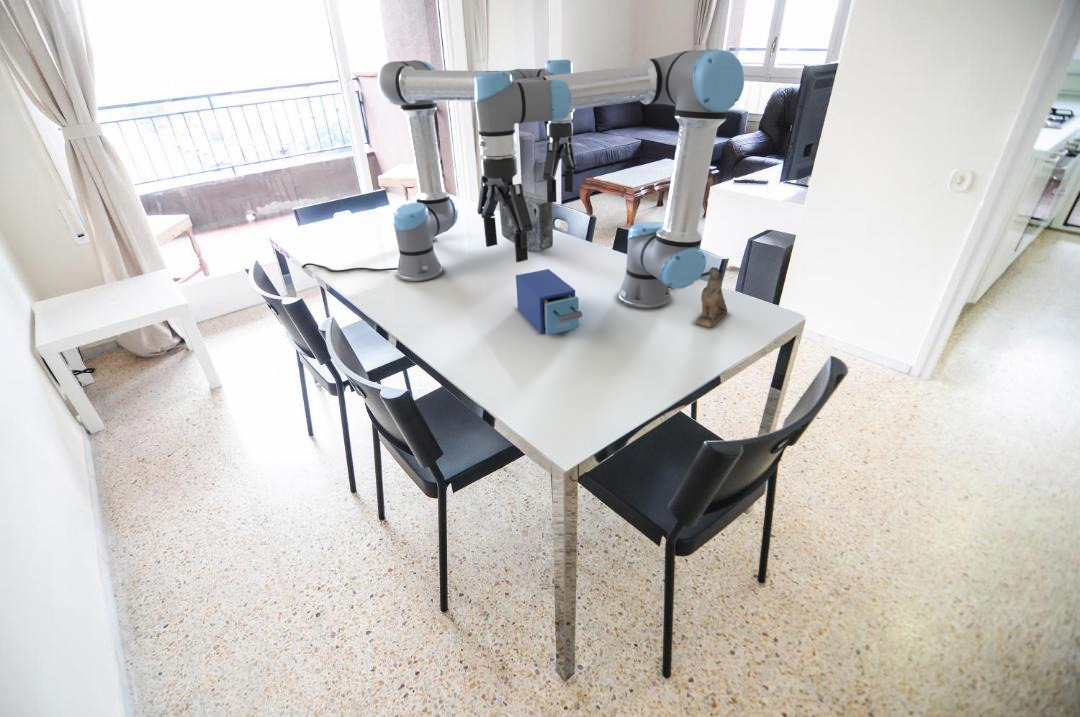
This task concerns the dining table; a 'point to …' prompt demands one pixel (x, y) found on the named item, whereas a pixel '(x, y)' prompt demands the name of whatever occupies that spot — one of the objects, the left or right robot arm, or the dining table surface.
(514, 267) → the dining table surface
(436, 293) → the dining table surface
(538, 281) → the cabinet
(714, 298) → the worn brown figurine
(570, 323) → the drawer
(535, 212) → the concrete block
